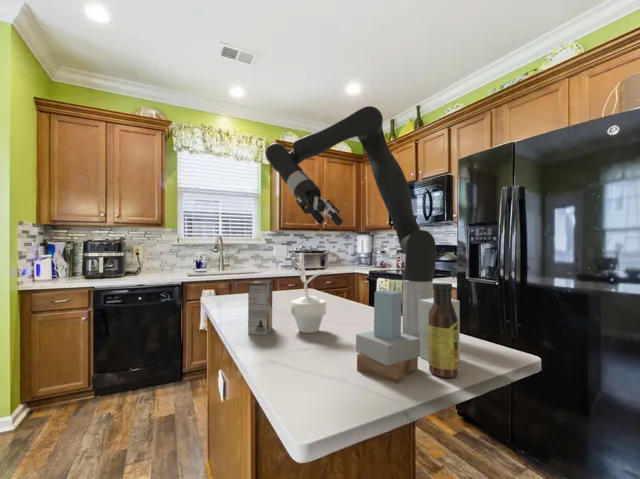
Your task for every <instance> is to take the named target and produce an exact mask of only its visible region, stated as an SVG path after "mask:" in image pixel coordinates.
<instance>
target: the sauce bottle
mask: <svg viewBox="0 0 640 479" xmlns="http://www.w3.org/2000/svg"><path fill="white" fill-rule="evenodd" d="M452 291H453V284H452V283H450V282H433V298H434V300H433V301H434V304H433V306H432V308H431V309H430V311H429V324H428V354H429V361H428V365H429V367H428V368H429V372H430V373H431V374H432V375H434V376H437V377H440V378H446V379H447V378H448V379H449V378H450V379H451V378H455V377H456V376H458V375H459V367H460V363H459V361H460V360H459V349H458V347H459V344H458V318H457V315H456V313H455V310H454V307H453V304H452V299H453V298H452V296H453V295H452Z"/></svg>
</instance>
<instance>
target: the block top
mask: <svg viewBox="0 0 640 479" xmlns="http://www.w3.org/2000/svg"><path fill="white" fill-rule="evenodd" d="M355 352H356V353H358V354H359V353H360V354H362V355H365V356H367V357H369V358H371V359H374V360H376V361H378V362H380V363H383V364H385V365H387V366H389V365H392V364H396V363H399V362H403V361H406V360H410V359H413V358H416V357H418V358H421V357H420V338H417V337H414V336H411V335H407V334H404V333H403V332H401V336H400V337H398V338H396V339H393V340H388V339H384V338H380V337H375V336H374V330H372V331H366V332H362V333H356V334H355Z"/></svg>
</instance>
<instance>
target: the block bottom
mask: <svg viewBox="0 0 640 479" xmlns="http://www.w3.org/2000/svg"><path fill="white" fill-rule="evenodd" d="M418 358H419V357H416V358H413V359H410V360H406V361H403V362H399V363H396V364H392V365H389V366H387V365H385V364H383V363H380V362H378V361H376V360H374V359H371V358H369V357H367V356H365V355H362V354H360V353H358V354H356V371H357V372H360V373H364V374H366V375H369V376H373V377H375V378H376V377H377V378H379V379H383V380H386V381H390V382H393V383H395V384H400V383H401V382H402V381H404V380H405V379H407V378H408V377H410V375H411V374H413V373H414V372H416V371H417V370H418V368H419V366H418V365H419V364H418V363H419V362H418V361H419V359H418Z"/></svg>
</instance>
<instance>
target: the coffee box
mask: <svg viewBox="0 0 640 479" xmlns="http://www.w3.org/2000/svg"><path fill="white" fill-rule="evenodd" d="M273 282H274V281H273V280H254V281H251V282H250V283H247V284H248V289H247V290H248V291H247V292H248V293H247V297H248V298H247V299H248V301H247V304H248V305H247V307H248V308H247V334H248V335H264V336H265V335H268V334H269V332H270V331H271V329H272V328H273Z"/></svg>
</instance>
